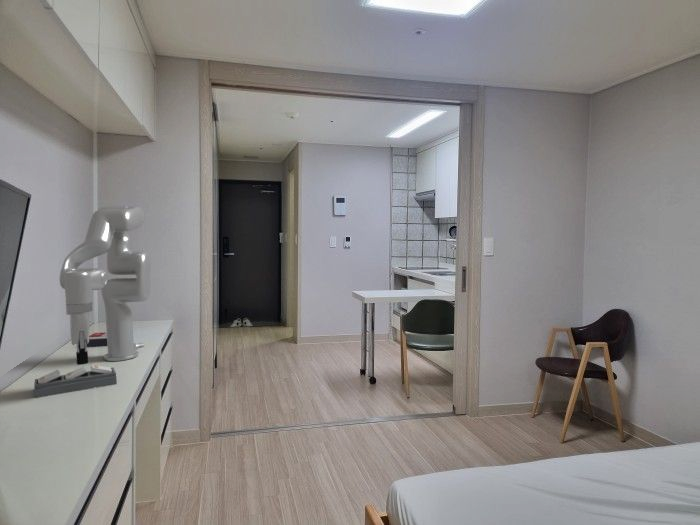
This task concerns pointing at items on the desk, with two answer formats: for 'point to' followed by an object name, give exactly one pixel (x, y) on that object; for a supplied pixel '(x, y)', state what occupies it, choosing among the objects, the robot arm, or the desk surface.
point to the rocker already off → (101, 369)
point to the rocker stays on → (49, 377)
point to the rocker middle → (75, 373)
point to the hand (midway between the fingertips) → (82, 363)
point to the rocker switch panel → (74, 383)
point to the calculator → (97, 340)
